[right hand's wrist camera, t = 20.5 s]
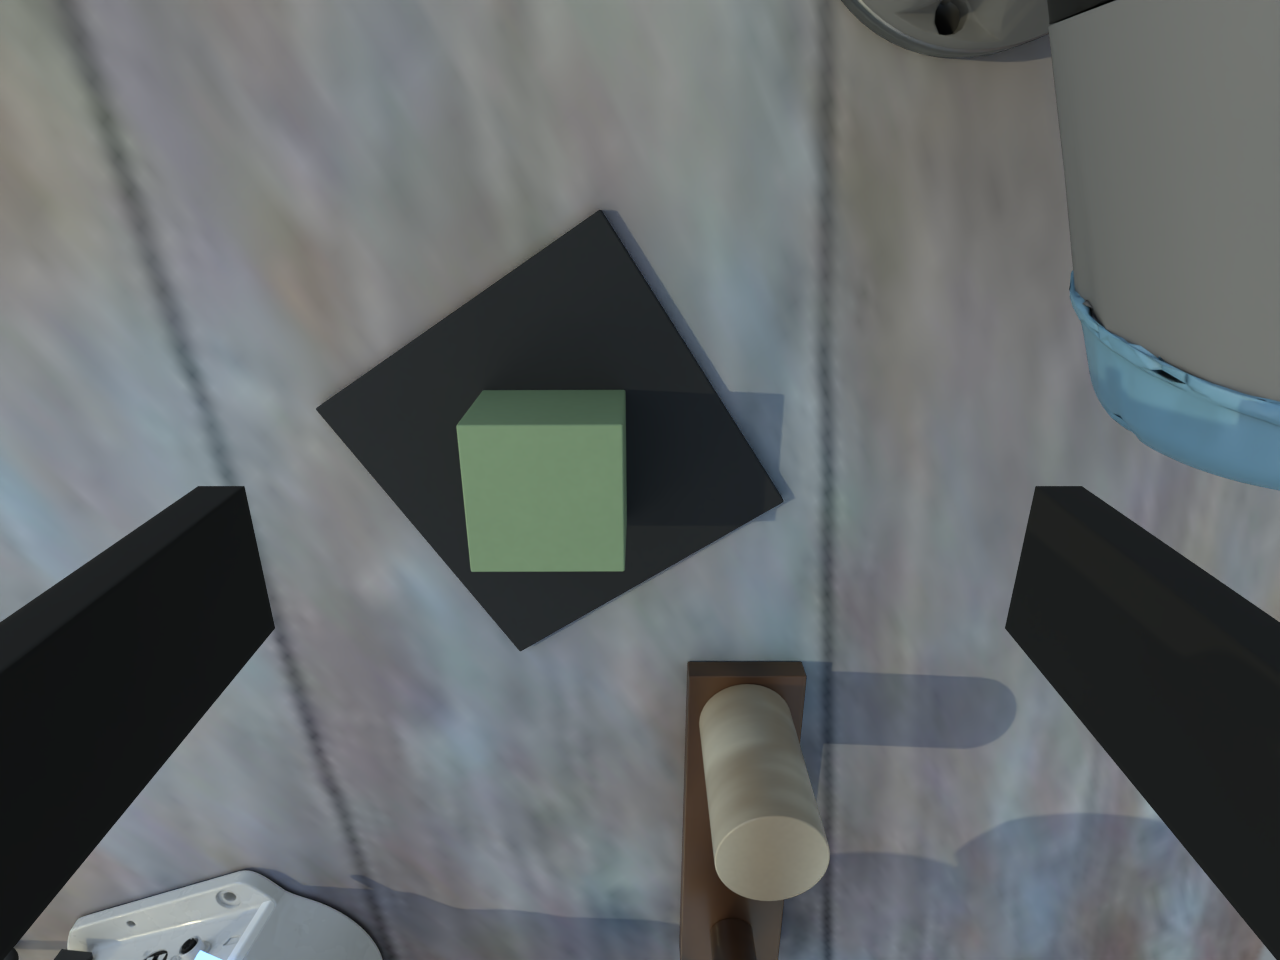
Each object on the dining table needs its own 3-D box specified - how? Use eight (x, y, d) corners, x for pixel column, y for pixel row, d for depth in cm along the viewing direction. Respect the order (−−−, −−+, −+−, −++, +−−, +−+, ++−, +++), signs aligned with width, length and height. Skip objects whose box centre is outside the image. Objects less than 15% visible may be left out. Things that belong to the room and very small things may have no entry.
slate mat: (600, 209, 36) (600, 209, 35) (782, 497, 41) (784, 501, 41) (319, 405, 39) (315, 408, 39) (521, 646, 45) (520, 652, 44)
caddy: (801, 661, 45) (851, 808, 35) (774, 945, 55) (806, 1130, 44) (687, 661, 45) (702, 808, 35) (679, 945, 55) (689, 1130, 44)
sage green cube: (625, 389, 38) (623, 424, 33) (627, 519, 41) (624, 572, 35) (482, 389, 38) (455, 425, 33) (493, 519, 41) (470, 572, 35)
